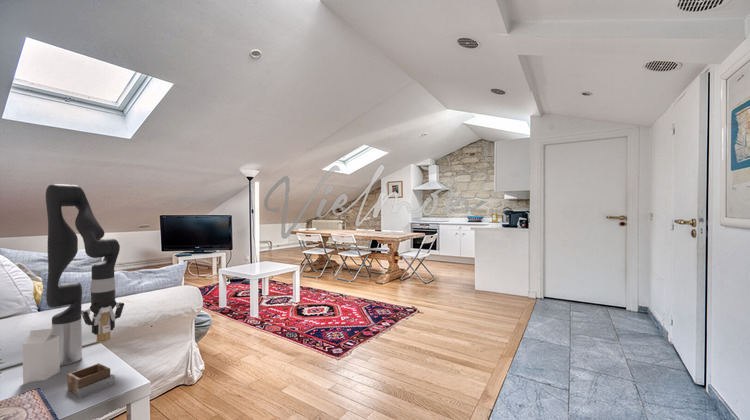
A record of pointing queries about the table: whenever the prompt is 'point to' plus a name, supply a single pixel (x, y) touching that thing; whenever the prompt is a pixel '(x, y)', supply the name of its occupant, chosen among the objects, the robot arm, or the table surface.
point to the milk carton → (40, 355)
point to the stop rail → (95, 386)
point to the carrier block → (86, 376)
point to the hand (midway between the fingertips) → (103, 331)
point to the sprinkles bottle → (104, 326)
